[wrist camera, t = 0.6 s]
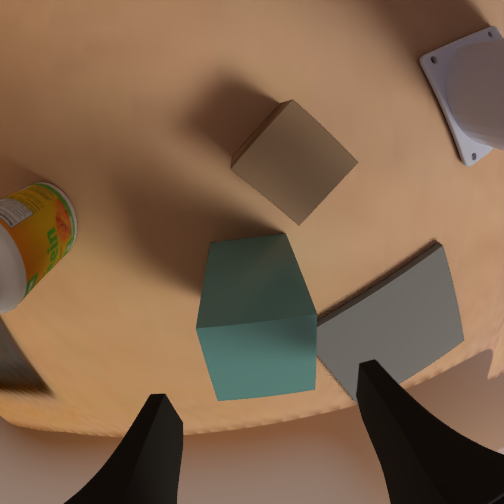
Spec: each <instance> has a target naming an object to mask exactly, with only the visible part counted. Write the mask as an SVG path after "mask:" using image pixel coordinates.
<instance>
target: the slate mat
mask: <svg viewBox="0 0 504 504" xmlns="http://www.w3.org/2000/svg"><path fill="white" fill-rule="evenodd" d="M463 341H464V336H463V330H462V324H461V318H460V313H459V308H458V303H457V299H456V294H455V290H454V285H453V281H452V277H451V273H450V269H449V265H448V262H447V258H446V255H445V251H444V248H443V245H442V244H440V243H439V242H438V243H437V244H435V245H434V246H432V247H431V248H430V249H428V250H427V251H425V252H424V253H423V254H421V255H420V256H418V257H417V258H415V259H414V260H413V261H411V262H410V263H408V264H407V265H405V266H404V267H402V268H401V269H399V270H398V271H396V272H395V273H393V274H392V275H390V276H389V277H387V278H386V279H384V280H383V281H381V282H380V283H378V284H377V285H375V286H374V287H372V288H370V289H369V290H367V291H366V292H364V293H363V294H361V295H359V296H358V297H356V298H355V299H353V300H351V301H350V302H348V303H346V304H345V305H343V306H341V307H340V308H338V309H336V310H335V311H333V312H331V313H330V314H328V315H326V316H325V317H323V318H321V319H319V320H318V321H317V349H316V355H317V356H318V357H319V358H320V360H321V361H322V362H323V363H324V365H325V366H326V367H327V368H328V369H329V371H330V372H331V373H332V374H333V375H334V377H335V378H336V379H337V380H338V381H339V383H340V384H341V385H342V386H343V388H344V389H345V390H346V391H347V392H348V394H349V395H350V396H351V397H352V398H353V400H354V401H355V402H356V403H357V404H358V402H357V398H356V391H357V381H358V370H359V363H362V362H366V361H369V360H373V359H375V360H377V361H378V362H379V363H380V365H381V366H382V367H383V368H384V369H385V370H386V371H387V372H388V373H389V374H390V376H391V377H392V378H393V379H394V380H395V381H396V382H397V383H398V384H400V383H402V382H403V381H405V380H407V379H408V378H410V377H411V376H413V375H415V374H416V373H418V372H419V371H421V370H423V369H424V368H426V367H427V366H429V365H430V364H432V363H433V362H435V361H436V360H438V359H439V358H441V357H442V356H443V355H445V354H446V353H448V352H449V351H451V350H452V349H453V348H455V347H456V346H457V345H459V344H460V343H461V342H463ZM358 406H359V405H358Z"/></svg>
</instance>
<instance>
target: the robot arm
mask: <svg viewBox="0 0 504 504" xmlns="http://www.w3.org/2000/svg"><path fill="white" fill-rule="evenodd" d="M488 34H489V35H488ZM431 57H432V58H433V60H434V63H432V61H431ZM420 65H421V67H422V69H423V71H424V72H425V74H426V76H427V78H428V80H429V82H430V84H431V86H432V88H433V91H434V93H435V95H436V97H437V99H438V101H439V104H440V106H441V108H442V110H443V113H444V115H445V117H446V120H447V122H448V125H449V127H450V130H451V132H452V135H453V137H454V140H455V143H456V146H457V148H458V151H459V154H460V157H461V160H462V163H463V164H464V165H465V166H468V167H470V166H472V165H473V164H475V163H476V162H477V161H479V160H480V159H481V158H483V157H484V156H485V155H487V154H488V153H489V152H491V151H492V150H493V149H494V148H497V149H501V150H504V38H502V36H501V34H500V32H499V30H498V29H497V27H495V26H491V27H488V28H485V29H483V30H480V31H478V32H475V33H473V34H470V35H468V36H466V37H463V38H461V39H458V40H456V41H454V42H452V43H449V44H447V45H445V46H442V47H440V48H438V49H436V50H434V51H431V52H429V53H427V54H425V55H423V56H421V57H420ZM472 154H473V158H472ZM356 398H357V402H358V405H359V409H360V412H361V416H362V419H363V422H364V424H365V427H366V429H367V432H368V434H369V437H370V439H371V441H372V444H373V446H374V449H375V451H376V454H377V456H378V459H379V461H380V464H381V467H382V470H383V473H384V477H385V480H386V485H387V489H388V493H389V498H390V502H391V504H504V455H503V454H500V453H498V452H495V451H493V450H490V449H488V448H486V447H484V446H482V445H479V444H478V443H476V442H474V441H472V440H470V439H468V438H466V437H465V436H463V435H461V434H460V433H458V432H456V431H455V430H453V429H451V428H450V427H449V426H447V425H446V424H444V423H443V422H441V421H440V420H439V419H437V418H436V417H435V416H434V415H432V414H431V413H430V412H428V410H426V409H425V408H424V407H423V406H421V405H420V404H419V403H418V402H417V401H416V400H415V399H414V398H413V397H412V396H410V395H409V394H408V393H407V392H406V391H405V390H404V389H403V388H402V387H401V386H400V385H399V384H398V383H397V382H396V381H395V380H394V379H393V378H392V377H391V376H390V374H389V373H388V372H387V371H386V370H385V369H384V368H383V367H382V366H381V365H380V363H379V362H378V361H377V360H375V359H373V360H369V361H366V362H362V363H359V370H358V381H357V391H356ZM182 450H183V422H182V420H181V419H180V417H179V415H178V414H177V412H176V411H175V409H174V407H173V406H172V404H171V403H170V401H169V399H168V398H167V396H166V394H151V395H150V396H149V397H148V399H147V401H146V402H145V404H144V406H143V407H142V409H141V411H140V412H139V414H138V416H137V417H136V419H135V421H134V422H133V424H132V426H131V427H130V429H129V430H128V432H127V433H126V435H125V437H124V438H123V440H122V441H121V443H120V444H119V445H118V447H117V448H116V450H115V451H114V453H113V454H112V455H111V457H110V458H109V459H108V460H107V462H106V463H105V464H104V466H103V467H102V468H101V469H100V470H99V471H98V473H97V474H96V475H95V476H94V477H93V478H92V479H91V480H90V481H89V482H88V483H87V484H86V485H85V486H84V487H83V488H82V489H81V490H80V491H79V492H77V493H76V494H75V495H74V496H73V497H71V498H70V499H69V500H68V501H67V502H65V503H64V504H177V491H178V490H177V489H178V482H179V474H180V465H181V458H182Z"/></svg>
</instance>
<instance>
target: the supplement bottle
mask: <svg viewBox="0 0 504 504" xmlns="http://www.w3.org/2000/svg"><path fill="white" fill-rule="evenodd" d="M76 235H77V219H76V214H75V211H74V208H73V206H72V204H71V202H70V200H69V199H68V197H67V196H66V195H65V194H64V193H63V192H62V191H61V190H60V189H59V188H57V187H56V186H54V185H52V184H49V183H45V182H39V183H34V184H31V185H29V186H26V187H24V188H22V189H20V190H18V191H16V192H14V193H12V194H10V195H8V196H6V197H4V198H2V199H0V313H6V312H9V311H11V310H13V309H14V308H15V307H16V306H17V305H18V304H19V303H20V302H21V301H22V300H23V299H24V298H25V297H26V295H27V294H28V293H29V292H30V291H31V290H32V289H33V288H34V287H35V285H36V284H37V283H38V282H39V281H40V280H41V279H42V278H43V277H44V276H45V275H46V274H47V273H48V272H49V271H50V270H51V269H52V268H53V267H54V266H55V265H56V264H57V263H58V262H59V261H60V260H61V259H62V258H63V257H64V256H65V255H66V254H67V253H68V252H69V250H70V249H71V248H72V246H73V244H74V242H75V239H76Z"/></svg>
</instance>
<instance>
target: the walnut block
mask: <svg viewBox="0 0 504 504" xmlns="http://www.w3.org/2000/svg"><path fill="white" fill-rule="evenodd" d="M357 163H358V161H357V160H356V159H355V158H354V157H353V156H352V155H351V154H350V153H349V152H348V151H347V150H346V149H345V148H344V147H343V146H342V145H341V144H340V143H339V142H338V141H337V140H336V139H335V138H334V137H333V136H332V135H331V134H330V133H329V132H328V131H327V130H326V129H325V128H324V127H323V126H322V125H321V124H320V123H319V122H318V121H317V120H315V119H314V118H313V117H312V116H311V115H310V114H309V113H308V112H307V111H306V110H305V109H303V108H302V107H301V106H300V105H299V104H298V103H297V102H296V101H294V100H289V101H286V102H283V103H280V104H279V105H278V106H277V107H276V109H275V110H274V111H273V112H272V113H271V114H270V115H269V116H268V117H267V118H266V119H265V121H264V122H263V123H262V124H261V125H260V126H259V127H258V128H257V129H256V131H255V132H254V133H253V134H252V135H251V136H250V137H249V138H248V140H247V141H246V142H245V143H244V144H243V145H242V146H241V148H240V149H239V150H238V151H237V152H236V153H235V155H234V156H233V157H232V162H231V170H232V171H233V172H235V173H236V174H237V175H238V176H240V177H241V178H242V179H243V180H245V181H246V182H247V183H248V184H250V185H251V186H252V187H253V188H254V189H256V190H257V191H258V192H259V193H261V194H262V195H263V196H264V197H265V198H267V199H268V200H269V201H270V202H271V203H273V204H274V205H275V206H276V207H277V208H279V209H280V210H281V211H282V212H283V213H285V214H286V215H287V216H288V217H289V218H290V219H292V220H293V221H294V222H295V223H296V224H297V225H300V224H301V223H302V222H303V221H304V220H305V219H306V218H307V217H308V216H309V215H310V214H311V213H312V212H313V210H314V209H315V208H316V207H317V206H318V205H319V204H320V203H321V202H322V201H323V200H324V199H325V198H326V197H327V196H328V194H329V193H330V192H331V191H332V190H333V189H334V188H335V187H336V186H337V185H338V184H339V183H340V182H341V180H342V179H343V178H344V177H345V176H346V175H347V174H348V173H349V172H350V171H351V170H352V169H353V168H354V166H355V165H356V164H357Z"/></svg>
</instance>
